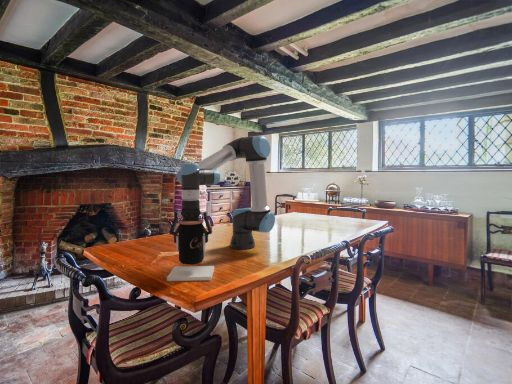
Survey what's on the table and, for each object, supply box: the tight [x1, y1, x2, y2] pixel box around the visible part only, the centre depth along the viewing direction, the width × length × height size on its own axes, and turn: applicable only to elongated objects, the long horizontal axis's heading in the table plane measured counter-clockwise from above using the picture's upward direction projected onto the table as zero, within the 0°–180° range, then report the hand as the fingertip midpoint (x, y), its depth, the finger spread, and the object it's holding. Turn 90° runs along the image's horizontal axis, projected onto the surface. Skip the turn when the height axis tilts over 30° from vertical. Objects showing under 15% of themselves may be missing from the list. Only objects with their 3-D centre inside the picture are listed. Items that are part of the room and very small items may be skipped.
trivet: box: [166, 265, 215, 282], centre depth 127 cm, size 18×14×2 cm
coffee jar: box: [177, 218, 205, 266], centre depth 126 cm, size 11×11×18 cm
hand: (191, 250), depth 126 cm, fingers closed on coffee jar, 11 cm apart
